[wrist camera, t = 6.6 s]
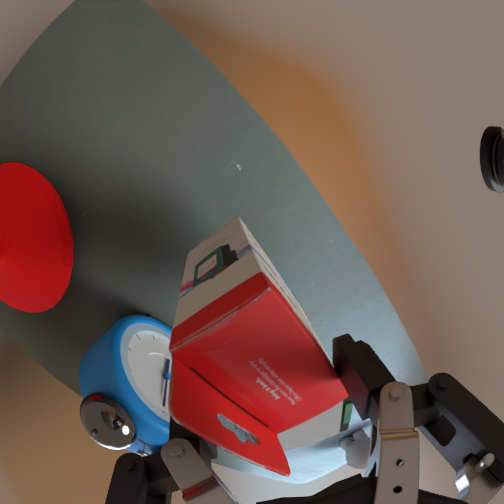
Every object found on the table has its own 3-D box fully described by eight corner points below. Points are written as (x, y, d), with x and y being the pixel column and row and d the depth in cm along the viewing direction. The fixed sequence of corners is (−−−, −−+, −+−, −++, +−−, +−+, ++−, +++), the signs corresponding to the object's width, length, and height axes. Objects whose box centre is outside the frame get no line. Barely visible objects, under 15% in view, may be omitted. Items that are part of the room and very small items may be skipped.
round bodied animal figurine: (391, 420, 45) (408, 447, 37) (343, 448, 45) (356, 477, 37) (386, 409, 42) (405, 439, 34) (334, 440, 43) (348, 472, 35)
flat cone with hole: (29, 317, 24) (3, 350, 18) (-29, 211, 18) (-65, 227, 12) (112, 263, 24) (86, 298, 18) (44, 128, 18) (1, 126, 12)
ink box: (295, 293, 23) (377, 436, 9) (247, 324, 23) (287, 480, 10) (237, 212, 20) (298, 341, 6) (184, 251, 20) (153, 417, 7)
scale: (347, 375, 35) (356, 390, 32) (343, 419, 40) (349, 432, 37) (247, 405, 34) (251, 422, 31) (261, 443, 39) (265, 458, 36)
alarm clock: (218, 361, 30) (231, 475, 16) (182, 384, 31) (182, 490, 17) (131, 289, 25) (83, 404, 12) (99, 320, 26) (51, 427, 12)
